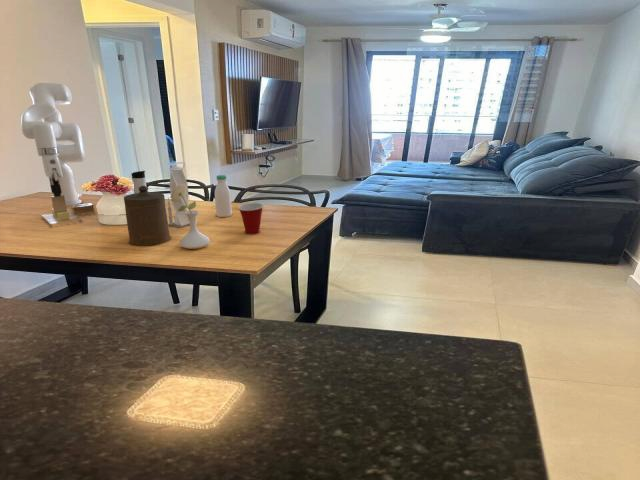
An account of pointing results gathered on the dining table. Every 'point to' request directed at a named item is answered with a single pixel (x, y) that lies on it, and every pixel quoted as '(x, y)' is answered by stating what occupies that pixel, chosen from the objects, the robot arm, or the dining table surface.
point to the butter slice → (62, 215)
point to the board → (53, 220)
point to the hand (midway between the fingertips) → (56, 192)
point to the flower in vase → (194, 236)
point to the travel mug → (138, 180)
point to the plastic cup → (251, 216)
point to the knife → (59, 203)
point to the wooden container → (146, 217)
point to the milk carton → (180, 216)
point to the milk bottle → (222, 197)
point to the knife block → (82, 208)
